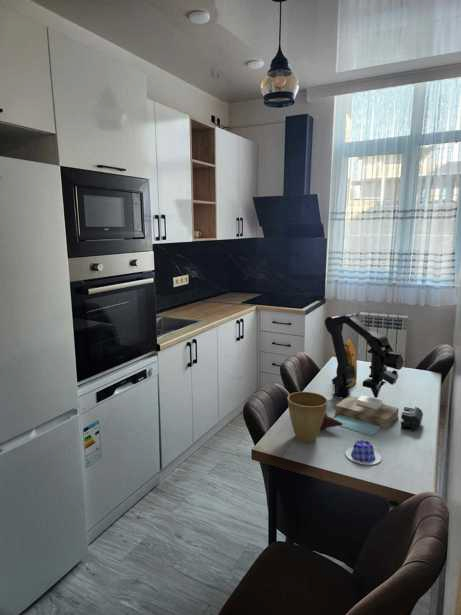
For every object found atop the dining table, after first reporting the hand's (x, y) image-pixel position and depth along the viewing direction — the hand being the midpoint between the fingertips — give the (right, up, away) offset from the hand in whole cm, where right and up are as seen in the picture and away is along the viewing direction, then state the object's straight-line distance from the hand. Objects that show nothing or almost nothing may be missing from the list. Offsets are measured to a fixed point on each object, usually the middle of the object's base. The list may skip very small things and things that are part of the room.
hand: (376, 397), depth 182 cm
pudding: (-19, -12, -39) cm, 45 cm away
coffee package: (-4, +1, +33) cm, 33 cm away
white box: (-5, -2, -5) cm, 8 cm away
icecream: (-28, -9, -19) cm, 35 cm away
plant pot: (-36, -10, -26) cm, 46 cm away
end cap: (+8, -8, -17) cm, 21 cm away
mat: (-14, -8, -16) cm, 23 cm away
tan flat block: (-7, -6, -7) cm, 12 cm away
